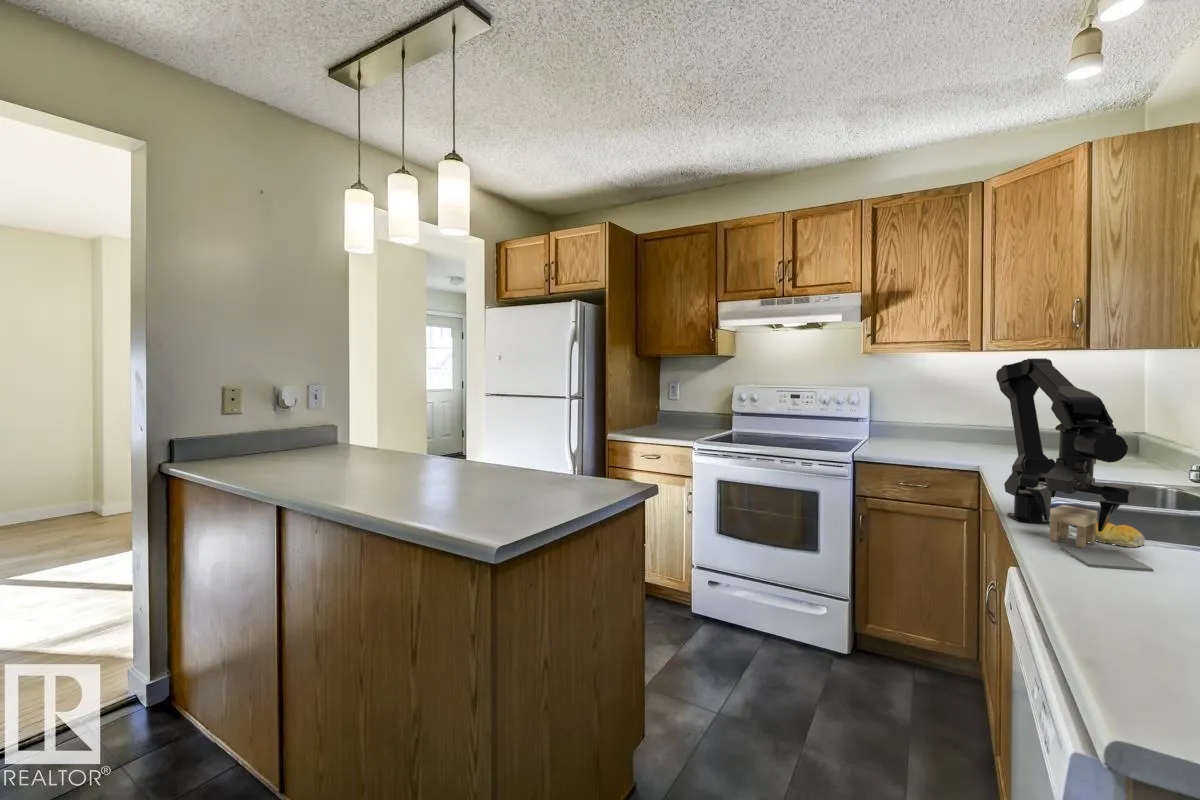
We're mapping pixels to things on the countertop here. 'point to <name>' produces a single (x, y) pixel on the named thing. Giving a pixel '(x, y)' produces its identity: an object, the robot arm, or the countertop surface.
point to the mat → (1106, 559)
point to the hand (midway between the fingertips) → (1072, 525)
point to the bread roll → (1120, 535)
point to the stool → (1073, 523)
